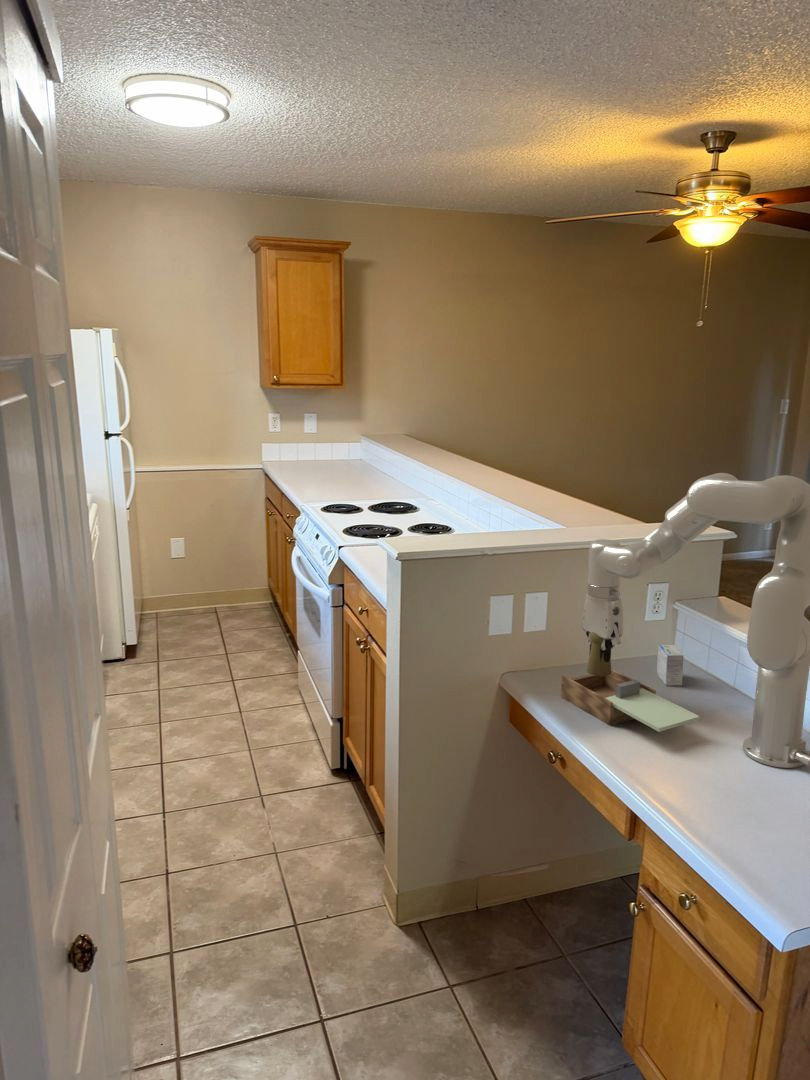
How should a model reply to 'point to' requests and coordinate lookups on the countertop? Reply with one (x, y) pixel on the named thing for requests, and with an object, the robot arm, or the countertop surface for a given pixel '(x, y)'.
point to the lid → (649, 707)
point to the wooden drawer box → (597, 695)
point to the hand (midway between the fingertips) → (599, 660)
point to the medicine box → (670, 665)
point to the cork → (597, 658)
